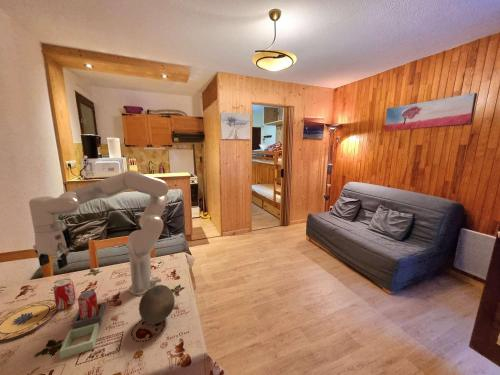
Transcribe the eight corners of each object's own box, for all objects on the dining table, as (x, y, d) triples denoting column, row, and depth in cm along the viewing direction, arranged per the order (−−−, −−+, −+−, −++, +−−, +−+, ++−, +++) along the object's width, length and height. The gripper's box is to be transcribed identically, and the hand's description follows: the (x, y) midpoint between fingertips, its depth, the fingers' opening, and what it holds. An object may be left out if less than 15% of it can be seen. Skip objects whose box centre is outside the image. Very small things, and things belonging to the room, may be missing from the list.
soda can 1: (64, 312, 95) (61, 288, 93) (52, 309, 96) (48, 285, 94) (80, 301, 102) (76, 278, 100) (68, 299, 103) (64, 276, 101)
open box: (105, 307, 98) (104, 302, 97) (93, 348, 78) (92, 341, 77) (79, 314, 94) (79, 308, 93) (60, 358, 74) (59, 351, 73)
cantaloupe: (136, 337, 83) (133, 303, 80) (144, 311, 96) (141, 281, 94) (174, 329, 87) (172, 297, 84) (176, 305, 100) (175, 276, 98)
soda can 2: (101, 316, 93) (98, 292, 91) (85, 326, 88) (81, 300, 85) (94, 310, 96) (91, 287, 94) (78, 320, 91) (74, 295, 89)
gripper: (73, 225, 87) (79, 263, 90) (41, 222, 91) (47, 259, 94) (53, 232, 80) (60, 273, 83) (19, 228, 84) (27, 268, 87)
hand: (53, 265), depth 89 cm, fingers open, 9 cm apart
